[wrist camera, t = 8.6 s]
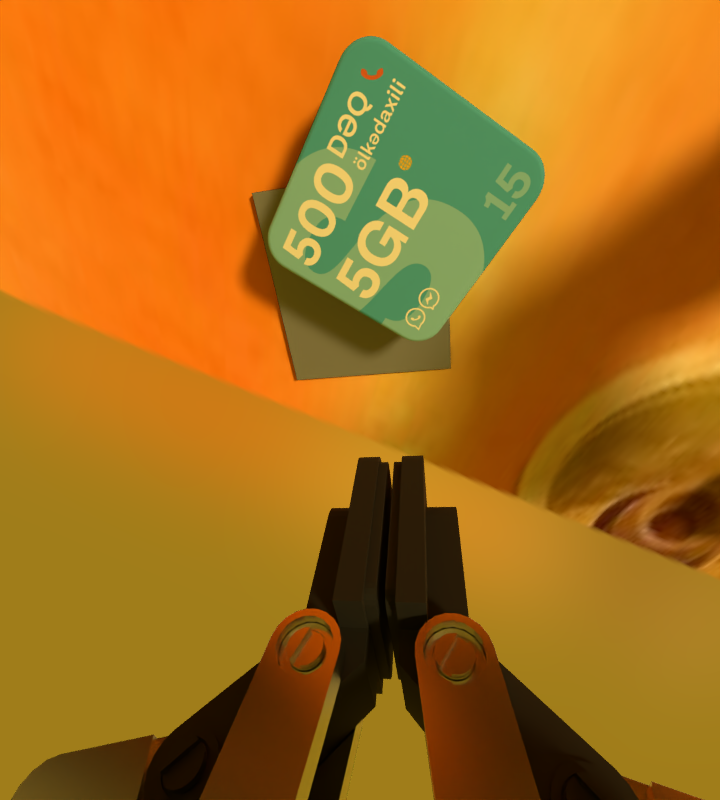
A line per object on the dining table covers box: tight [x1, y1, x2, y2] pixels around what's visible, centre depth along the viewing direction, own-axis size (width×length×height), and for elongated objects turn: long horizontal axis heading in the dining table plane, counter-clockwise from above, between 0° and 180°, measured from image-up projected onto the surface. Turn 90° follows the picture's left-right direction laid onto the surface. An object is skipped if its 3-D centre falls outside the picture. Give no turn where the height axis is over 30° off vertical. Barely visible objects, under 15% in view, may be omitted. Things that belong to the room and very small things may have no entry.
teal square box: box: [268, 36, 545, 341], centre depth 24 cm, size 12×4×12 cm
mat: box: [252, 188, 451, 380], centre depth 30 cm, size 12×14×1 cm
